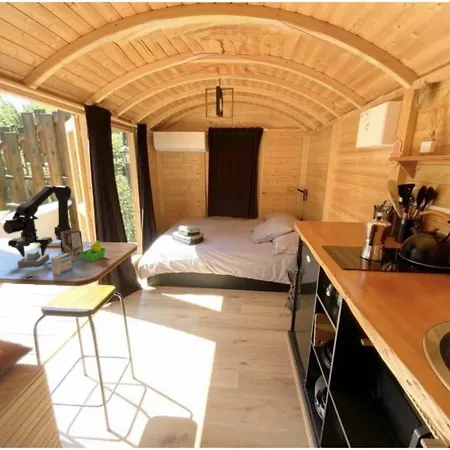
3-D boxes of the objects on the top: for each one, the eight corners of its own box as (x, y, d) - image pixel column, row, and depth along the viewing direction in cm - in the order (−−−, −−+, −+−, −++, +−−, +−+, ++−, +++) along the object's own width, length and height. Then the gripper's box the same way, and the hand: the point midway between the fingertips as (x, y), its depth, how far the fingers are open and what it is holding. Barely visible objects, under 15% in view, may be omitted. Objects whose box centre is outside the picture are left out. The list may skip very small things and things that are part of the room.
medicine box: (60, 275, 123) (57, 259, 121) (52, 274, 124) (50, 258, 122) (72, 269, 131) (70, 253, 129) (65, 268, 132) (63, 252, 129)
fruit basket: (97, 254, 151) (95, 236, 149) (108, 256, 149) (107, 238, 146) (81, 261, 141) (78, 242, 138) (93, 263, 138) (91, 244, 135)
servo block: (41, 259, 142) (40, 250, 141) (35, 264, 136) (33, 254, 134) (33, 259, 141) (32, 250, 140) (26, 264, 135) (25, 254, 133)
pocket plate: (49, 257, 145) (48, 253, 144) (39, 265, 134) (39, 260, 134) (29, 258, 143) (28, 254, 142) (18, 266, 132) (17, 261, 132)
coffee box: (84, 257, 146) (81, 231, 142) (74, 261, 141) (70, 233, 137) (74, 254, 150) (71, 228, 146) (63, 258, 144) (60, 231, 140)
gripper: (-2, 233, 124) (4, 263, 128) (41, 232, 128) (45, 261, 132) (12, 227, 135) (17, 255, 139) (51, 227, 139) (54, 253, 142)
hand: (33, 256), depth 138 cm, fingers open, 9 cm apart
